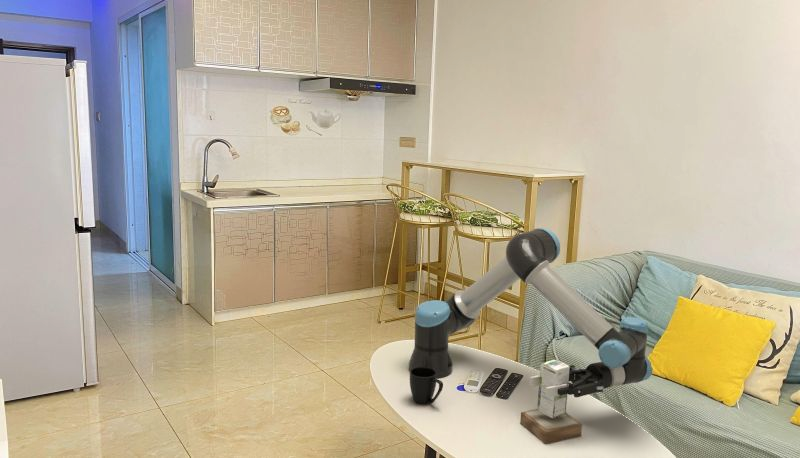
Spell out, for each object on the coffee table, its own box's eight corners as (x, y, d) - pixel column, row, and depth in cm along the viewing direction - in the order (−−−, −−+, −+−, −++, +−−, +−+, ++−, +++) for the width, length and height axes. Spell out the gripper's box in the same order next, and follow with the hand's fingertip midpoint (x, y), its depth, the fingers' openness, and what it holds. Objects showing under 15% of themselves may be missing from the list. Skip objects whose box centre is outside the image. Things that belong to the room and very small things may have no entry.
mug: (430, 414, 179) (431, 384, 177) (403, 399, 188) (404, 370, 186) (449, 406, 184) (451, 377, 182) (423, 392, 193) (423, 364, 191)
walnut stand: (520, 423, 175) (521, 411, 174) (554, 416, 179) (555, 404, 179) (545, 444, 164) (546, 431, 163) (581, 436, 169) (582, 423, 168)
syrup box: (550, 405, 175) (553, 358, 172) (566, 413, 170) (570, 365, 167) (536, 411, 171) (539, 362, 169) (553, 419, 167) (556, 369, 164)
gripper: (627, 401, 168) (559, 415, 159) (581, 373, 186) (517, 385, 177) (630, 375, 167) (561, 389, 158) (583, 350, 184) (519, 361, 175)
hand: (538, 387), depth 167 cm, fingers closed on syrup box, 6 cm apart
